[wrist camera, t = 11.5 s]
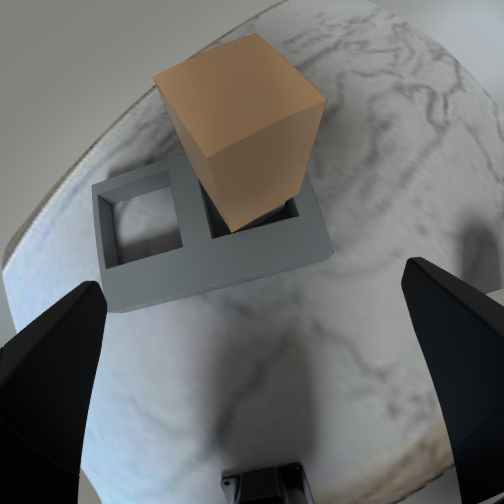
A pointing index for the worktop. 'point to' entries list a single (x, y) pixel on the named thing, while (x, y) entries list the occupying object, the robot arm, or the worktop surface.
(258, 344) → the worktop surface
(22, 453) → the robot arm
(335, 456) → the worktop surface
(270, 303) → the worktop surface
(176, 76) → the plug
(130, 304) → the socket block
